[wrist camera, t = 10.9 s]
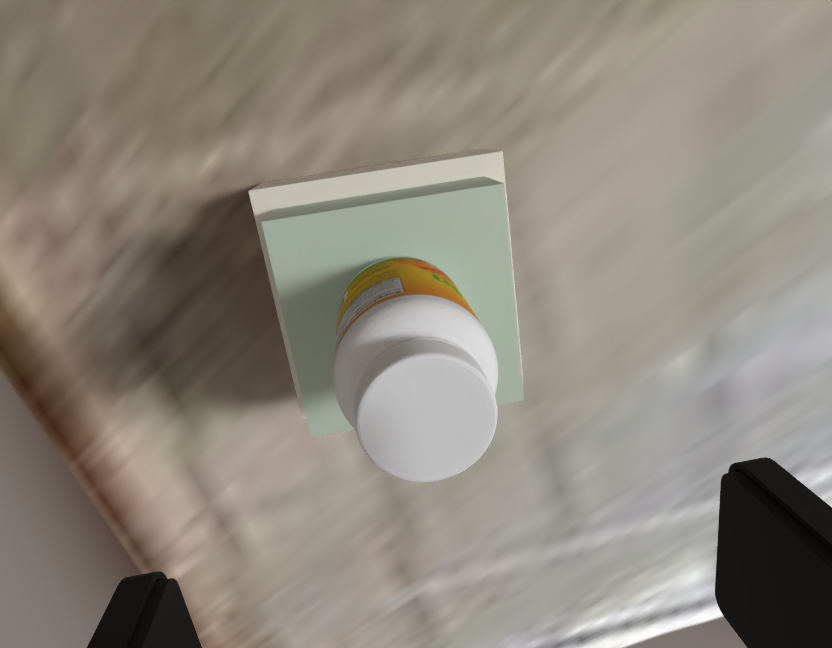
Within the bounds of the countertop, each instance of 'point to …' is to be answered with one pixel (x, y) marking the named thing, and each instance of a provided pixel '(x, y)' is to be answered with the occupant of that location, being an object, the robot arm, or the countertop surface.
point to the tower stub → (385, 256)
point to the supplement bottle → (414, 370)
